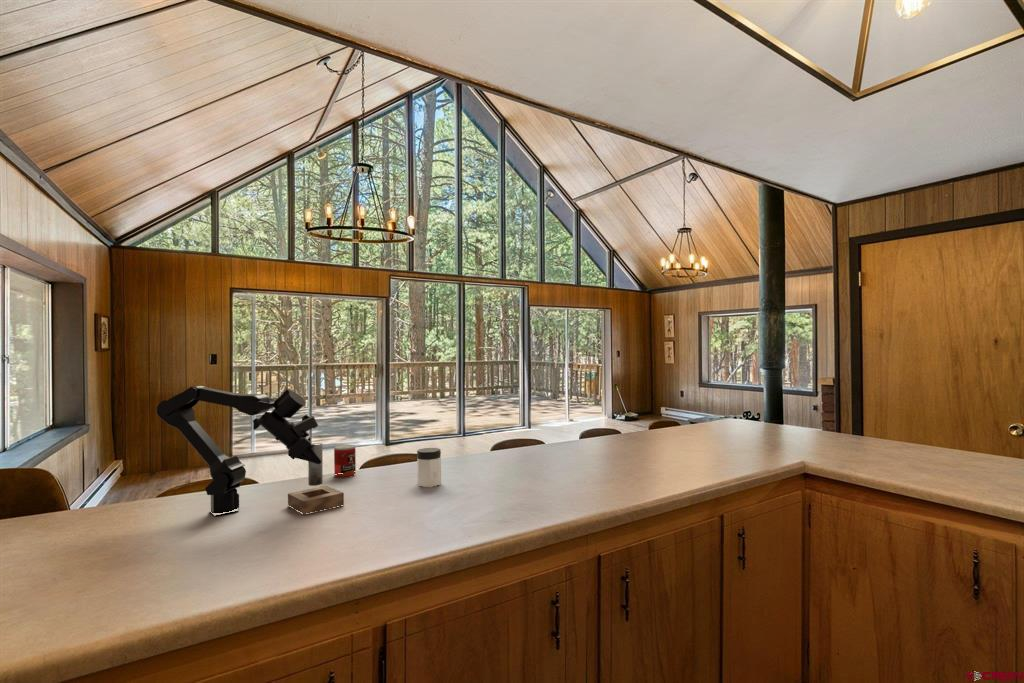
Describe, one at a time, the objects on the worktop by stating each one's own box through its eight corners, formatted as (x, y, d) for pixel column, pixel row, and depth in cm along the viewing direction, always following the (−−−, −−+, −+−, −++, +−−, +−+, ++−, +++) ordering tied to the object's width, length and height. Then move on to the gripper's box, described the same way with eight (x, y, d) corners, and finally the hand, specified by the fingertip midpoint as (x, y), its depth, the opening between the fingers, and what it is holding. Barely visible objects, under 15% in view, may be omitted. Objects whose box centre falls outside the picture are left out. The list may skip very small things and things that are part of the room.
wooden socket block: (303, 515, 142) (303, 501, 142) (288, 506, 151) (287, 493, 151) (343, 505, 150) (343, 492, 151) (326, 498, 159) (326, 485, 159)
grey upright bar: (311, 486, 148) (311, 445, 148) (306, 484, 151) (306, 444, 151) (324, 483, 151) (324, 444, 151) (319, 481, 154) (319, 442, 154)
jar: (425, 489, 168) (424, 453, 168) (412, 484, 173) (411, 450, 174) (446, 483, 174) (446, 449, 174) (433, 479, 180) (432, 446, 180)
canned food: (342, 479, 183) (342, 449, 184) (330, 476, 188) (329, 446, 188) (360, 474, 189) (359, 445, 190) (347, 472, 194) (347, 443, 194)
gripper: (300, 410, 141) (342, 446, 145) (301, 404, 158) (338, 436, 162) (270, 440, 138) (313, 476, 142) (273, 431, 155) (312, 463, 159)
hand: (320, 461), depth 151 cm, fingers closed on grey upright bar, 4 cm apart
